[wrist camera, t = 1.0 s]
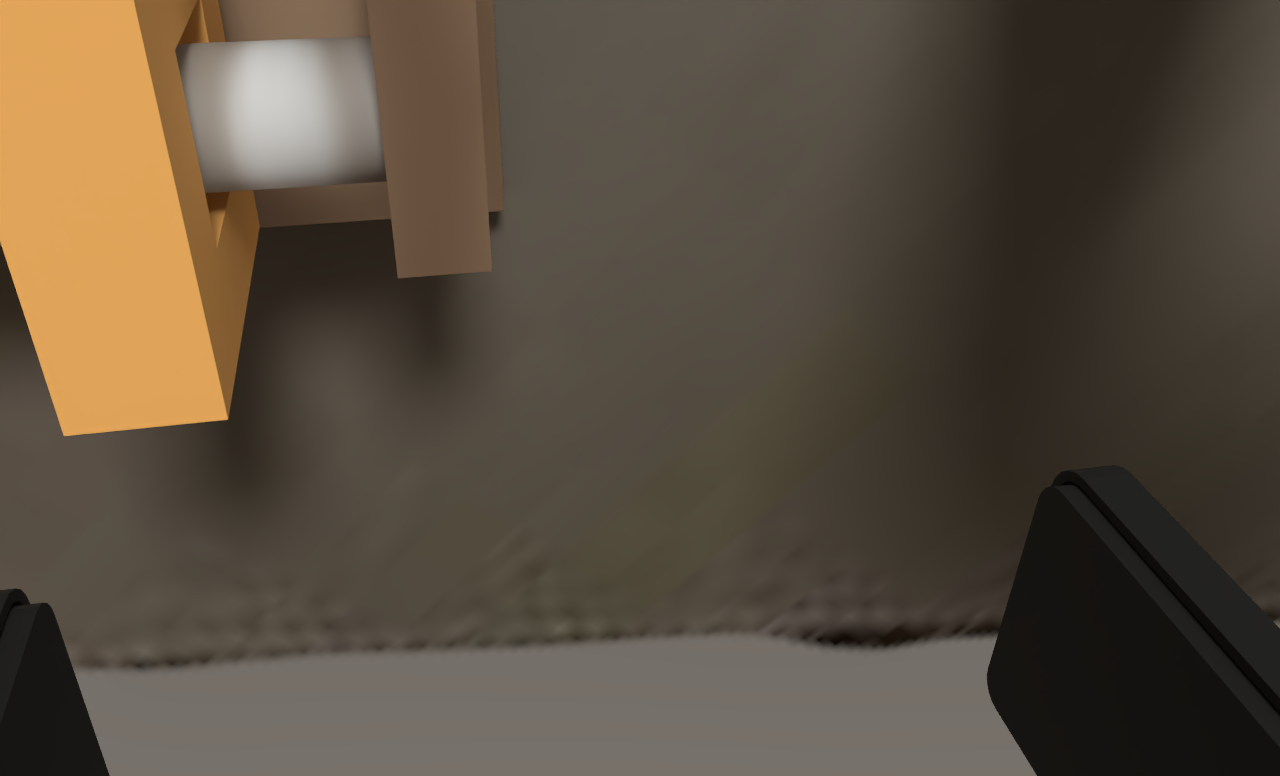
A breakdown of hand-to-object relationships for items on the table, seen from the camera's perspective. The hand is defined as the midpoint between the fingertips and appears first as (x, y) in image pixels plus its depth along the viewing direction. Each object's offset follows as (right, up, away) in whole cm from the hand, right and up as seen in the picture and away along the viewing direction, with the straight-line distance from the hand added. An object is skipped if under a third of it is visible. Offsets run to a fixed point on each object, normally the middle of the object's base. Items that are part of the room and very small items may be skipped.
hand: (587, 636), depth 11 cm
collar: (-11, +10, +16) cm, 22 cm away
